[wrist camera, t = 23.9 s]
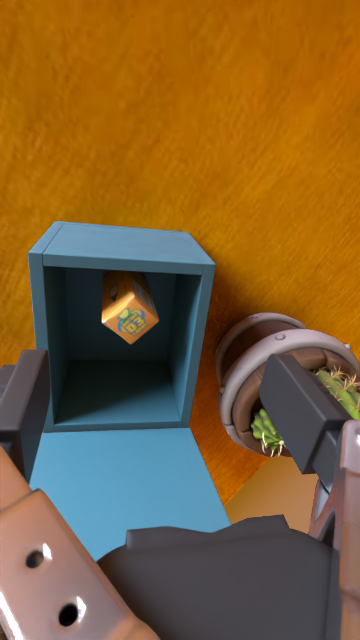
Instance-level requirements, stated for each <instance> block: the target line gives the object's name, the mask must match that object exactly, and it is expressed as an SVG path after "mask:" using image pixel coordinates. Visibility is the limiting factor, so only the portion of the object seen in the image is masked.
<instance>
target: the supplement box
mask: <svg viewBox="0 0 360 640" xmlns="http://www.w3.org/2000/svg"><path fill="white" fill-rule="evenodd" d="M158 322H159V318H158V314H157V311H156V308H155V304H154V301H153V298H152V294H151V291H150V288H149V285H148V282H147V279H146V277H145V276H144V274H143V273H142V272H138V271H120V270H109V271H108V272H107V273H106V274H105V275H104V276H103V289H102V323H103V324H104V325H105V326H107V327H108V328H110V329H111V330H113V331H114V332H115V333H117V334H118V335H119V336H121V337H122V338H123V339H125V340H126V341H127V342H128V343H129V344H132V343H134V342H135V341H136V340H137V339H138V338H140V337H141V336H142V335H143V334H144V333H146V332H147V331H148V330H149V329H151V328H152V327H153V326H154V325H155V324H157V323H158Z"/></svg>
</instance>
